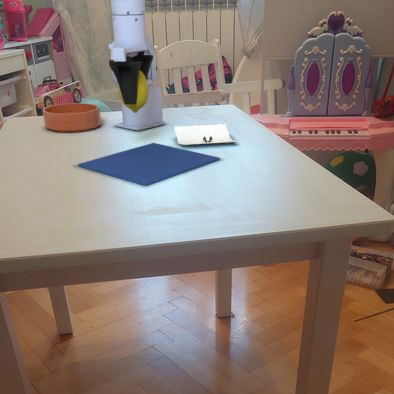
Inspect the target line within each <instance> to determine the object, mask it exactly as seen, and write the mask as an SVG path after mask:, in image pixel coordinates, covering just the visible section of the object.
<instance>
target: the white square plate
mask: <svg viewBox="0 0 394 394" xmlns="http://www.w3.org/2000/svg"><path fill="white" fill-rule="evenodd" d="M173 128H174V134H175V136H176V140H177V142H178V144H179V145H183V146H185V145H186V146H187V145H204V144H206V145H207V144H220V143H238V142H240V141H239V140H233V139H232V138H231V136H230V133H229V130H228V127H227V124H226V123H223V124H222V123H221V124H220V123H219V124H204V125H201V124H200V125H183V126H182V125H181V126H173Z"/></svg>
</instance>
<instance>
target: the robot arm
mask: <svg viewBox="0 0 394 394" xmlns="http://www.w3.org/2000/svg"><path fill="white" fill-rule="evenodd" d="M145 8H146V7H145V0H110V9H111V19H112V30H113V31H112V32H113V39H114V40H113V41H112V43H109V44H107V45H108V50H110V60H108V66H109V68H110V69H111V73H112V80H113V81H114V82H115V84H117V85H118V88H119V87H120V91H121V94H122V98H123V101H124V104H132V105H135V104H136V101H137V84H138V76H139V71H141V72H142V73H143V74H144V76H145V78H146V80H147V84H148V99H147V102H146V104H145V105H144V106H143V107H142V108H140V109H139V111H138V112H137V113H134V112H133V111H132V110H131V109H129V108H127V107H126V106H125V105H124V104H123V103H122V101H121V100H120V104H121V105H120V106H121V116H122V122H119V123H115V125H114V126H115V127H119V128H121V129H122V128H124V129H127V130H133V131H142V130H147V129H151V128H154V127H159V126H161V125H165V124H166V121H164V117H163V116H164V115H163V96H162V91H161V89H160V87H159V85H157V84H156V83H155V82H156V80H157V62H156V61H157V59H156V52H155V44H154V43H153V41H152V40H151V39H150V38H149V37H147V26H146V11H145Z"/></svg>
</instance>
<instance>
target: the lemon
mask: <svg viewBox="0 0 394 394" xmlns="http://www.w3.org/2000/svg"><path fill="white" fill-rule="evenodd" d="M118 94H119V98H120V102H121V101H122V103H123V104H124V101H123V98H122V94H121V91H120V87H119V86H118ZM147 99H148V84H147V80H146V78H145V76H144V74H143V73H142V72H141V71H139V76H138V84H137V101H136V104H135V105H132V104H124V105H125V106H126V107H127V108H129V109H131V110H132V111H133V112H134V113H137V112H138V111H139V109H140V108H142V107H143V106H144V105H145V104H146V102H147Z"/></svg>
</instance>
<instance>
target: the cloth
mask: <svg viewBox="0 0 394 394" xmlns="http://www.w3.org/2000/svg"><path fill="white" fill-rule="evenodd" d="M220 160H221V157H218V156H215V155H210V154H206V153H202V152H196V151H193V150H187V149H183V148H179V147H175V146H169V145H165V144H161V143H158V142H157V143H156V142H150V143H149V144H148V143H147V144H144V145H141V146H138V147H133V148H130V149H126V150H123V151H119V152H117V153H112V154H108V155H105V156H103V157H98V158H95V159H91V160H88V161H84V162H80V163H78V164H77V166H78V167H81V168H83V169H87V170H89V171H94V172H97V173H101V174H103V175H106V176H111V177H114V178H117V179H121V180H124V181H128V182H131V183H134V184H138V185H142V186H144V187H146V186H149V185H153V184H156V183H158V182H161V181H164V180H166V179H167V180H168V179H170V178H172V177H175V176H178V175H181V174H184V173H187V172H189V171H192V170H195V169H198V168H201V167H203V166H206V165H209V164H212V163H215V162H217V161H220Z"/></svg>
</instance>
